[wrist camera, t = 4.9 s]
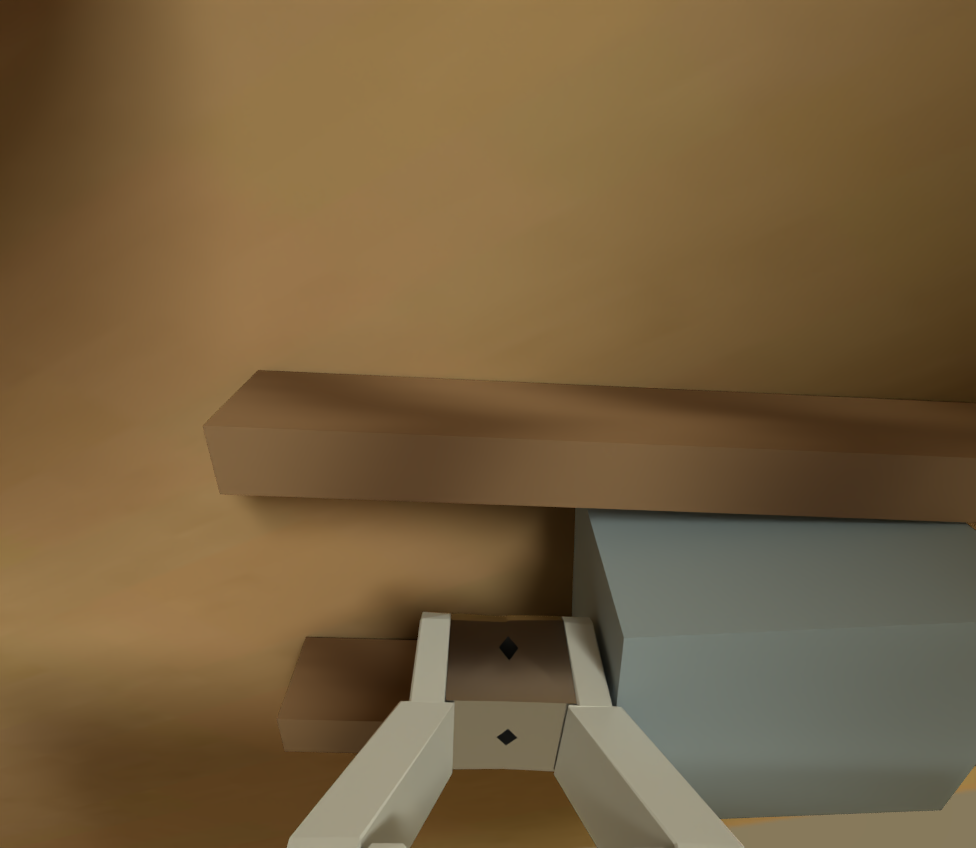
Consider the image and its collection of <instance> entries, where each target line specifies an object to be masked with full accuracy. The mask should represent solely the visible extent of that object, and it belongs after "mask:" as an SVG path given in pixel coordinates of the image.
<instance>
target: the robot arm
mask: <svg viewBox="0 0 976 848" xmlns="http://www.w3.org/2000/svg"><path fill="white" fill-rule="evenodd" d="M452 769H517V770H536V771H554V776H555V777H556V779H557V781H558V782H559V784H560V786H561V787H562V789H563V791H564V792H565V794H566V796H567V798H568V799H569V801H570V803H571V804H572V806H573V808H574V809H575V811H576V813H577V814H578V816H579V818H580V819H581V821H582V823H583V825H584V826H585V828H586V830H587V831H588V833H589V835H590V836H591V838H592V840H593V841H594V843H595V845H596V846H597V848H745V847H744V846H743V845H742V844H741V842H740V841H739V840H738V839H737V838H736V837H735V836H734V834H733V833H732V832H731V831H730V830H729V829H728V828H727V826H726V825H725V824H724V823H723V822H722V821H721V820H720V819H719V817H718V816H717V815H716V814H715V813H714V812H713V811H712V809H711V808H710V807H709V806H708V805H707V804H706V803H705V801H704V800H703V799H702V798H701V797H700V796H699V795H698V793H697V792H696V791H695V790H694V789H693V788H692V787H691V785H690V784H689V783H688V782H687V781H686V780H685V779H684V778H683V776H682V775H681V774H680V773H679V772H678V771H677V770H676V768H675V767H674V766H673V765H672V764H671V763H670V762H669V760H668V759H667V758H666V757H665V756H664V755H663V754H662V752H661V751H660V750H659V749H658V748H657V747H656V746H655V744H654V743H653V742H652V741H651V740H650V739H649V738H648V737H647V735H646V734H645V733H644V732H643V731H642V730H641V729H640V727H639V726H638V725H637V724H636V723H635V722H634V721H633V719H632V718H631V717H630V716H629V715H628V714H627V713H626V711H625V710H624V709H623V708H622V707H619V706H612V703H611V698H610V694H609V690H608V685H607V681H606V677H605V673H604V668H603V664H602V660H601V655H600V651H599V647H598V643H597V638H596V634H595V630H594V625H593V622H592V621H591V619H590V618H589V617H560V616H533V615H506V616H496V615H479V614H461V613H452V614H451V613H438V612H423V613H422V616H421V619H420V625H419V632H418V640H417V647H416V654H415V662H414V669H413V677H412V684H411V691H410V699H409V701H400V702H399V703H398V704H397V706H396V707H395V708H394V709H393V711H392V712H391V713H390V714H389V715H388V717H387V718H386V719H385V720H384V722H383V723H382V724H381V725H380V727H379V728H378V729H377V730H376V732H375V733H374V734H373V735H372V736H371V738H370V739H369V740H368V741H367V743H366V744H365V745H364V746H363V748H362V749H361V750H360V751H359V753H358V754H357V755H356V756H355V757H354V759H353V760H352V761H351V762H350V764H349V765H348V766H347V767H346V769H345V770H344V771H343V772H342V774H341V775H340V776H339V777H338V778H337V780H336V781H335V782H334V783H333V785H332V786H331V787H330V788H329V790H328V791H327V792H326V793H325V795H324V796H323V797H322V798H321V799H320V801H319V802H318V803H317V804H316V806H315V807H314V808H313V809H312V811H311V812H310V813H309V814H308V816H307V817H306V818H305V819H304V820H303V822H302V823H301V824H300V825H299V827H298V828H297V829H296V830H295V832H294V833H293V834H292V835H291V837H290V838H289V841H288V845H287V848H410V847H411V845H412V844H413V842H414V840H415V838H416V837H417V835H418V833H419V831H420V829H421V828H422V826H423V824H424V822H425V821H426V819H427V817H428V815H429V813H430V812H431V810H432V808H433V806H434V805H435V803H436V801H437V799H438V798H439V796H440V794H441V792H442V790H443V789H444V787H445V785H446V783H447V782H448V780H449V778H450V776H451V774H452Z"/></svg>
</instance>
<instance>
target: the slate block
mask: <svg viewBox="0 0 976 848" xmlns="http://www.w3.org/2000/svg"><path fill="white" fill-rule="evenodd" d="M572 617H589V618H590V619H591V621H592V622H593V625H594V630H595V634H596V638H597V643H598V647H599V651H600V655H601V660H602V664H603V668H604V673H605V677H606V681H607V685H608V690H609V694H610V698H611V703H612V706H619V707H622V708H623V709H624V710H625V711H626V713H627V714H628V715H629V716H630V717H631V718H632V719H633V721H634V722H635V723H636V724H637V725H638V726H639V727H640V729H641V730H642V731H643V732H644V733H645V734H646V735H647V737H648V738H649V739H650V740H651V741H652V742H653V743H654V744H655V746H656V747H657V748H658V749H659V750H660V751H661V752H662V754H663V755H664V756H665V757H666V758H667V759H668V760H669V762H670V763H671V764H672V765H673V766H674V767H675V768H676V770H677V771H678V772H679V773H680V774H681V775H682V776H683V778H684V779H685V780H686V781H687V782H688V783H689V784H690V785H691V787H692V788H693V789H694V790H695V791H696V792H697V793H698V795H699V796H700V797H701V798H702V799H703V800H704V801H705V803H706V804H707V805H708V806H709V807H710V808H711V809H712V811H713V812H714V813H715V814H716V815H717V816H718V817H719V819H728V818H754V817H779V816H805V815H831V814H856V813H881V812H906V811H933V810H942V808H943V807H944V806H945V804H946V803H947V802H948V800H949V799H950V798H951V796H952V795H953V794H954V793H955V791H956V790H957V789H958V787H959V786H960V785H961V783H962V782H963V781H964V779H965V778H966V777H967V775H968V774H969V773H970V771H971V770H972V769H973V767H974V766H975V765H976V530H974V529H973V528H972V527H971V526H969V525H968V524H967V523H965V522H943V521H916V520H889V519H863V518H836V517H810V516H783V515H757V514H730V513H703V512H677V511H650V510H624V509H597V508H576V509H575V537H574V566H573V595H572Z"/></svg>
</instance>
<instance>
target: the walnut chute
mask: <svg viewBox="0 0 976 848" xmlns="http://www.w3.org/2000/svg"><path fill="white" fill-rule="evenodd" d="M203 429H204V433H205V437H206V441H207V445H208V449H209V453H210V457H211V461H212V465H213V469H214V473H215V477H216V481H217V485H218V489H219V493H220V494H225V495H252V496H278V497H305V498H332V499H358V500H385V501H411V502H438V503H464V504H491V505H518V506H544V507H571V508H597V509H624V510H650V511H677V512H703V513H730V514H757V515H783V516H810V517H836V518H863V519H889V520H916V521H943V522H969V523H976V403H963V402H941V401H919V400H898V399H876V398H854V397H832V396H810V395H788V394H766V393H744V392H722V391H701V390H679V389H657V388H635V387H613V386H591V385H569V384H547V383H525V382H504V381H482V380H460V379H438V378H416V377H394V376H372V375H350V374H328V373H307V372H285V371H263V370H258V371H257V372H256V373H255V374H254V375H253V376H252V377H251V378H250V379H249V380H248V381H247V382H246V383H245V384H244V385H243V386H242V387H241V388H240V389H239V390H238V391H237V392H236V393H235V394H234V395H233V396H232V397H231V398H230V399H229V400H228V401H227V402H226V403H225V404H224V405H223V406H222V407H221V408H220V409H219V410H218V411H217V412H216V413H215V414H214V415H213V416H212V417H211V418H210V419H209V420H208V421H207V422H206V423H205V424H204V425H203ZM416 647H417V640H390V639H355V638H320V637H306V639H305V642H304V645H303V647H302V650H301V653H300V656H299V658H298V661H297V664H296V667H295V670H294V672H293V675H292V678H291V681H290V683H289V686H288V689H287V692H286V694H285V697H284V700H283V703H282V706H281V708H280V711H279V714H278V717H277V723H278V727H279V731H280V735H281V739H282V743H283V746H284V750H285V751H286V752H333V753H359V751H360V750H361V749H362V748H363V746H364V745H365V744H366V743H367V741H368V740H369V739H370V738H371V736H372V735H373V734H374V733H375V732H376V730H377V729H378V728H379V727H380V725H381V724H382V723H383V722H384V720H385V719H386V718H387V717H388V715H389V714H390V713H391V712H392V711H393V709H394V708H395V707H396V706H397V704H398V703H399V702H400V701H409V699H410V691H411V684H412V677H413V669H414V662H415V654H416ZM975 766H976V765H975Z"/></svg>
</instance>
